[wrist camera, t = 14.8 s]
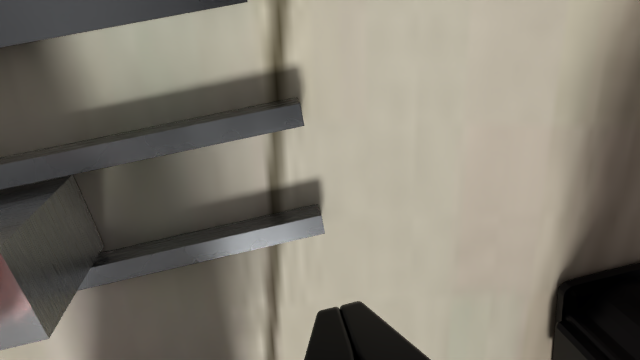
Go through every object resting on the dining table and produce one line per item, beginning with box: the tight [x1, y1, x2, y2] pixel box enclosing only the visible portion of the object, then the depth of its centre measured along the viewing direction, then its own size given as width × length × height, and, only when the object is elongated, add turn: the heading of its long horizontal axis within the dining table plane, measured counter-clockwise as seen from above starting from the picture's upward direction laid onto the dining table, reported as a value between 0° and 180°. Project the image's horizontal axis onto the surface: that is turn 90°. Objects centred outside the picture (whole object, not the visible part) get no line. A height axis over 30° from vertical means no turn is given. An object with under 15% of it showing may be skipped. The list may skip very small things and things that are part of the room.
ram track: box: [0, 97, 325, 290], centre depth 15 cm, size 15×5×2 cm, turn 100°
